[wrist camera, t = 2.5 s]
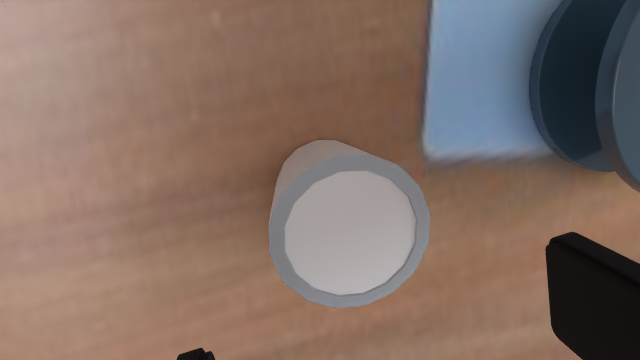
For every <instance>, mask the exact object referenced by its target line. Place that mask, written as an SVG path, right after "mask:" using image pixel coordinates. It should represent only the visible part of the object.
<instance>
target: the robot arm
mask: <svg viewBox="0 0 640 360" xmlns="http://www.w3.org/2000/svg"><path fill="white" fill-rule="evenodd" d="M546 263H547V277H548V290H549V303H550V316H551V326H552V329H553V331H554V333H555V335H556V336H557V337H558V338H559V340H561V341H562V342H563V343H564V344H565V345H566V346H568V347H569V348H570V349H571V350H572V351H573V352H574V353H576V354H577V355H578V356H579V357H580V358H581V359H582V360H640V264H639V263H637V262H635V261H633V260H631V259H629V258H627V257H625V256H622V255H620V254H618V253H616V252H614V251H612V250H610V249H608V248H606V247H604V246H602V245H600V244H598V243H596V242H594V241H592V240H590V239H588V238H586V237H584V236H582V235H580V234H578V233H575V232H569V233H566V234H563V235H560V236H557V237H553V238H552V239H550V242H549V245H547V246H546ZM177 360H215V358H214V355H213V353H212V352H211V351H209V352H206V353H205V351H204V350H203V348H198V349H195V350H192V351H189V352H186V353H182V354H180V355H178V357H177Z"/></svg>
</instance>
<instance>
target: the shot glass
mask: <svg viewBox="0 0 640 360" xmlns="http://www.w3.org/2000/svg"><path fill="white" fill-rule="evenodd" d="M430 217H431V215H430V212H429V209H428V206H427V203H426V200H425V198H424V195H423V192H422V189H421V187H420V186H419V185H418V184H417V183H416V182H415V181H414V180H413V179H412V178H411V177H410V176H409V175H408V174H407V173H406V172H405V171H404V170H403V169H402V168H401V167H400V166H399V165H396V164H394V163H392V162H389V161H387V160H384V159H382V158H379V157H377V156H374V155H372V154H369V153H367V152H364V151H362V150H360V149H357V148H355V147H352V146H350V145H347V144H344V143H342V142H339V141H337V140H315V141H312V142H310V143H308V144H306V145H304V146H301V147H299V148H297V149H296V150H295V151H294V152H293V153H292V154H291V155H290V156H289V157H288V158H287V159H286V161H285V162H284V163H283V165H282V168H281V171H280V173H279V176H278V178H277V182H276V187H275V192H274V198H273V203H272V209H271V214H270V219H269V225H268V227H269V249H270V257H271V259H272V261H273V263H274V265H275V267H276V269H277V271H278V273H279V275H280V277H281V278H282V280H283V282H284V283H285V284H286V285H288V286H289V287H290V288H291V289H293V290H294V291H295V292H297V293H298V294H299V295H300V296H302V297H303V298H304V299H305V300H307V301H311V302H314V303H318V304H322V305H325V306H329V307H333V308H343V307H353V306H364V305H367V304H369V303H372V302H374V301H376V300H378V299H380V298H382V297H385V296H387V295H389V294H391V293H393V292H394V291H395V290H396V289H397V288H398V287H399V286H401V285H402V284H403V283H404V282H405V281H406V280H407V279H408V278H409V277H410V276H411V275H412V274H413V273H414V272H415V271H416V269H417V267H418V265H419V263H420V261H421V259H422V257H423V255H424V252H425V250H426V248H427V246H428V243H429V230H430Z"/></svg>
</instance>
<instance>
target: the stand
mask: <svg viewBox="0 0 640 360" xmlns="http://www.w3.org/2000/svg"><path fill="white" fill-rule="evenodd" d="M530 102H531V110H532V113H533V117H534V120H535V123H536V125H537V128H538V130H539V132H540V134H541V136H542V137H543V139H544V140H545V142H546V143H547V144H548V145H549V147H550V148H551V149H552V150H553V151H554V152H555V153H557V154H558V155H559V156H560V157H561V158H563V159H565V160H567V161H568V162H570V163H572V164H575V165H578V166H580V167H584V168H587V169H592V170H596V171H608V172H610V171H616V173H617V174H618V175H619V176H620V178H621V179H622V180H624V181H625V182H626V183H627V184H628V185H629V186H630V187H632V188H633V189H635V190H636V191H638V192H640V0H564V1H563V2H562V3H561V4H560V6H559V7H558V8H557V10H556V11H555V12H554V14H553V15H552V17H551V18H550V20H549V22H548V23H547V25H546V27H545V29H544V31H543V33H542V35H541V38H540V40H539V42H538V45H537V48H536V51H535V54H534V58H533V63H532V67H531V74H530Z"/></svg>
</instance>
